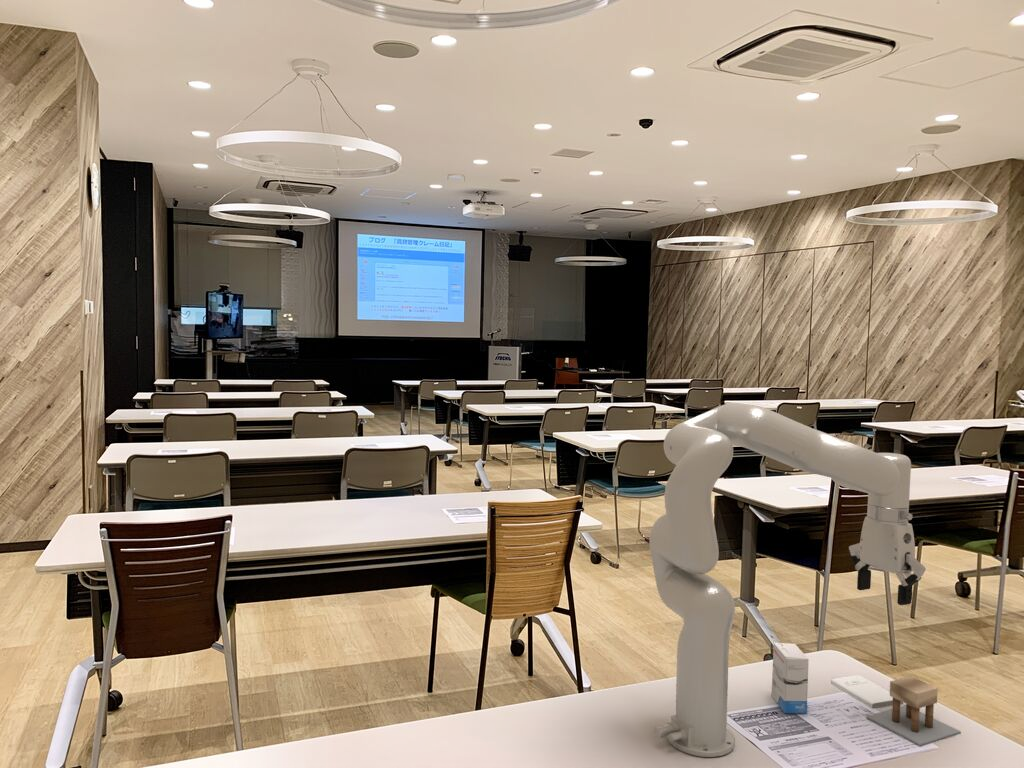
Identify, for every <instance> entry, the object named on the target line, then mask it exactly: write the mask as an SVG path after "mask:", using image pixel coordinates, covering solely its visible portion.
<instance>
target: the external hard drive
mask: <svg viewBox="0 0 1024 768" xmlns="http://www.w3.org/2000/svg"><path fill="white" fill-rule="evenodd" d="M830 684H831V685H833V686H835V687H836V688H838V689H839V690H840V691H843V692H844V693H846V694H847V693H848V695H849V696H851V697H853V698H854V699H855V700H856V701H857V700H858V701H859V702H860V703H863V704H864V705H865V706H867V707H869V708H871V709H877V708H883V707H889V706H892V703H893V697H891V696H890V690H887V689H885V688H884V687H882V686H880V685H878V684H877V683H875V682H874V681H873V682H872V681H870V680H869V679H867V678H865V677H864V676H861V675H859V674H857V675H848V676H843V677H842V676H841V677H837V678H836V677H835V678H831V679H830ZM902 704H903V705H904V702H901V701H900V705H902Z"/></svg>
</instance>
